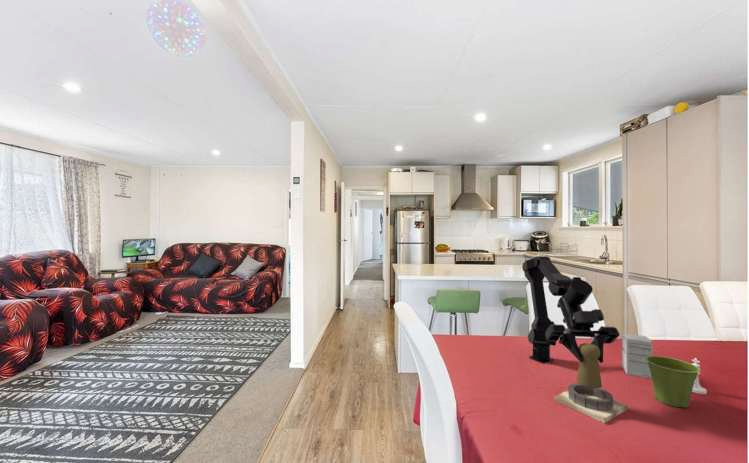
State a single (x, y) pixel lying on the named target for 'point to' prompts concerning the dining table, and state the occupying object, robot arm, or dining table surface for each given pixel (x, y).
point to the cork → (589, 366)
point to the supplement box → (636, 355)
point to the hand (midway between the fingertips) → (591, 361)
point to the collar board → (589, 411)
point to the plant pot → (672, 380)
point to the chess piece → (696, 386)
